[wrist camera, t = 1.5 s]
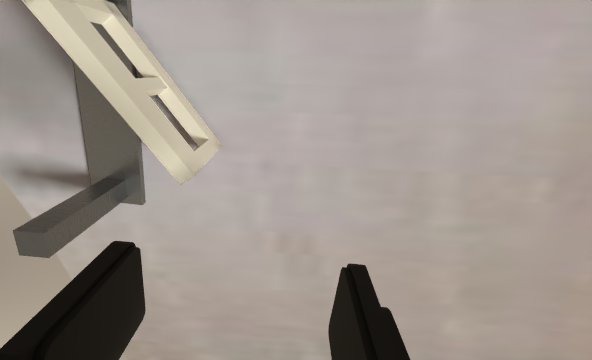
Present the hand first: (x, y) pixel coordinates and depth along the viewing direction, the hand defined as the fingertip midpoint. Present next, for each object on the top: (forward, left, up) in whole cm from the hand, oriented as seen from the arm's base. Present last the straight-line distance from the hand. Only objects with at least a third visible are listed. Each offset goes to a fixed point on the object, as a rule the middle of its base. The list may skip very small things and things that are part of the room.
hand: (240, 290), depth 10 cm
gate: (-4, -12, -25) cm, 28 cm away
